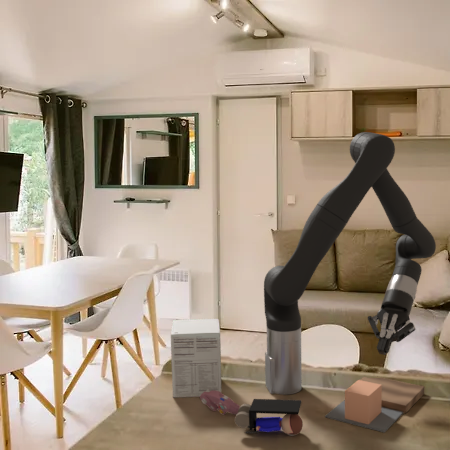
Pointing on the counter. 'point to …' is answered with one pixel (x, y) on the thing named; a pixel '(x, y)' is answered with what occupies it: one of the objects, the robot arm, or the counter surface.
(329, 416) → the mat
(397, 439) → the counter surface
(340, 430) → the counter surface
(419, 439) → the counter surface
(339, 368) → the counter surface
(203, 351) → the supplement box
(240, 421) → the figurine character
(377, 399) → the block
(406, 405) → the board
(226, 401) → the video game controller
